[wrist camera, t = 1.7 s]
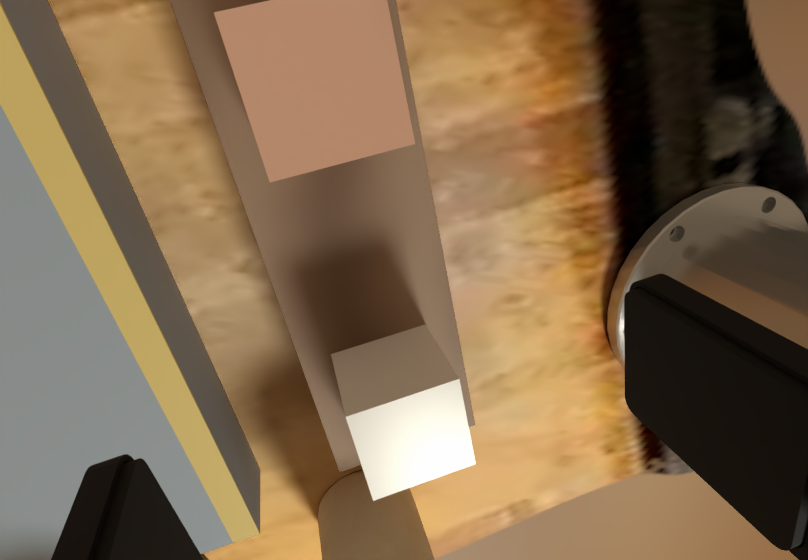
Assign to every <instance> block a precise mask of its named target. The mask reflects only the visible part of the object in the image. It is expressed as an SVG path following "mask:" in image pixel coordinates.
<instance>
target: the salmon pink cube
mask: <svg viewBox="0 0 808 560" xmlns="http://www.w3.org/2000/svg"><path fill="white" fill-rule="evenodd" d="M214 15H215V18H216V21H217V24H218V27H219V30H220V33H221V36H222V39H223V42H224V45H225V48H226V52H227V55H228V58H229V61H230V64H231V67H232V70H233V73H234V76H235V79H236V82H237V85H238V88H239V91H240V94H241V97H242V100H243V103H244V106H245V109H246V112H247V115H248V118H249V121H250V124H251V127H252V130H253V133H254V136H255V139H256V142H257V145H258V148H259V151H260V154H261V157H262V160H263V164H264V167H265V170H266V173H267V176H268V179H269V182H274V181H278V180H282V179H285V178H289V177H293V176H297V175H300V174H304V173H308V172H312V171H315V170H319V169H323V168H327V167H330V166H334V165H338V164H342V163H346V162H349V161H353V160H357V159H361V158H364V157H368V156H372V155H376V154H379V153H383V152H387V151H391V150H394V149H398V148H402V147H406V146H409V145H413V144H415V140H414V135H413V130H412V125H411V120H410V114H409V109H408V104H407V99H406V94H405V89H404V84H403V78H402V73H401V68H400V63H399V58H398V53H397V48H396V43H395V37H394V32H393V27H392V22H391V17H390V12H389V7H388V1H387V0H269V1H264V2H260V3H255V4H250V5H246V6H241V7H237V8H232V9H227V10H223V11H218V12H214Z"/></svg>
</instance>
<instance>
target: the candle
mask: <svg viewBox="0 0 808 560" xmlns="http://www.w3.org/2000/svg"><path fill="white" fill-rule="evenodd" d="M318 525H319V535H320V543H321V552H322V560H434V557H433V554H432V551H431V548H430V545H429V542H428V539H427V536H426V533H425V531H424V528H423V525H422V522H421V519H420V516H419V513H418V510H417V507H416V504H415V502H414V499H413V496H412V494H411V491H410V489H409V488H408V489H405V490H402V491H400V492H397V493H394V494H391V495H388V496H386V497H383V498H380V499H377V500H375V501H373V499H372V496H371V493H370V490H369V487H368V484H367V481H366V478H365V475H364V471H363V470H362V471H358V472H355V473H352V474H350V475H348V476H345V477H344V478H342V479H340V480H339V481H337V482H336V483H335V484H334V485H332V486H331V487H330V488H329V490H328V491H327V492H326V493H325V495H324V496H323V498H322V500H321V502H320V505H319V510H318Z"/></svg>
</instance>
